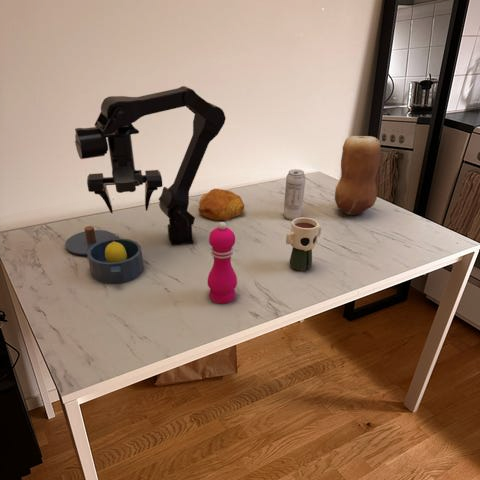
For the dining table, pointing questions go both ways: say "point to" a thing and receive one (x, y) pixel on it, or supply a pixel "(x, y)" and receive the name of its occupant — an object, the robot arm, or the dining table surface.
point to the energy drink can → (294, 194)
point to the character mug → (303, 241)
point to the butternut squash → (358, 174)
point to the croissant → (220, 205)
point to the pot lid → (86, 240)
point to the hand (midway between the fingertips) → (129, 211)
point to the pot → (115, 270)
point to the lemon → (115, 252)
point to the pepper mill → (222, 265)
